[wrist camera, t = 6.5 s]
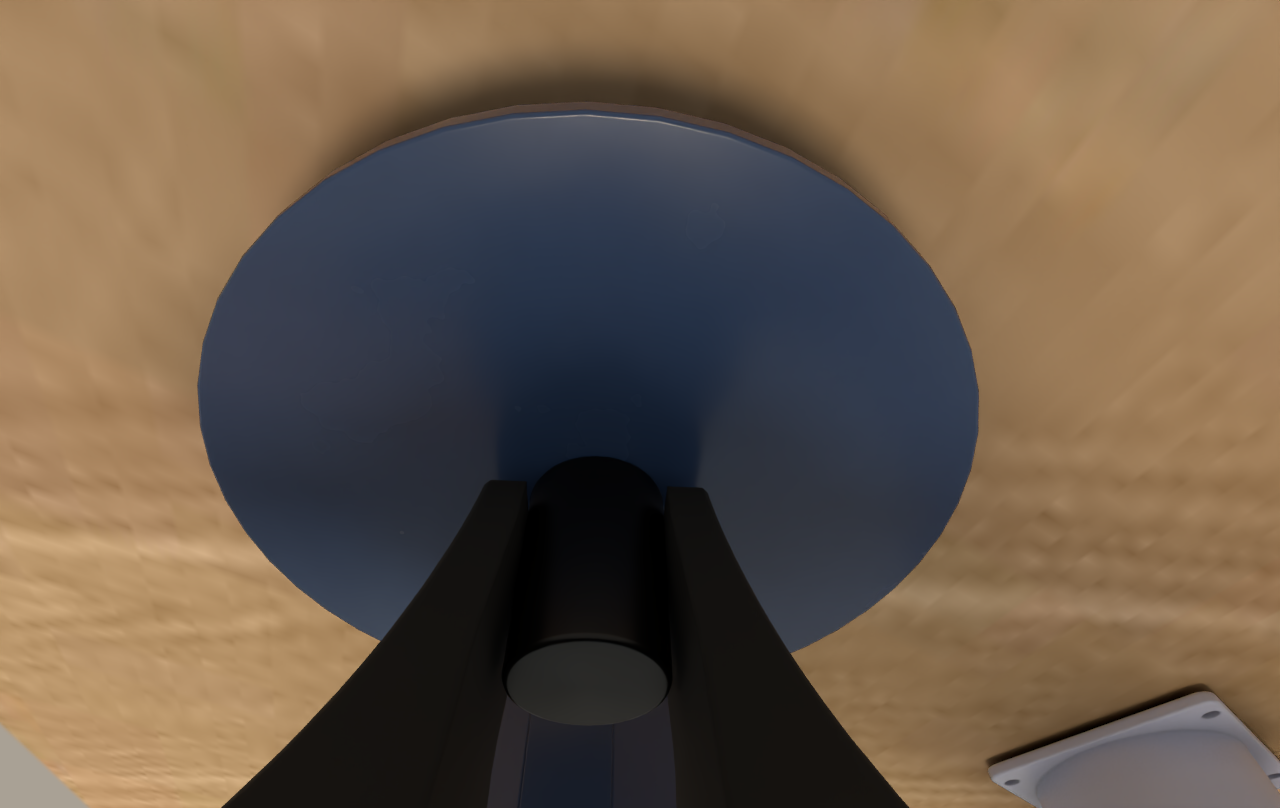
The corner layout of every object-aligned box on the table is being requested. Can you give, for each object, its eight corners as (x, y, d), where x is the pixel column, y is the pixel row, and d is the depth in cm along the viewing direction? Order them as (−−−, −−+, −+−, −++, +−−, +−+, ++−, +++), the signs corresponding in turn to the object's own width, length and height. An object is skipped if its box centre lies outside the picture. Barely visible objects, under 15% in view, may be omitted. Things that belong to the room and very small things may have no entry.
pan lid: (1127, 302, 11) (1386, 510, 7) (734, 691, 18) (760, 889, 14) (258, -120, 7) (-115, -136, 4) (215, 576, 15) (80, 798, 11)
